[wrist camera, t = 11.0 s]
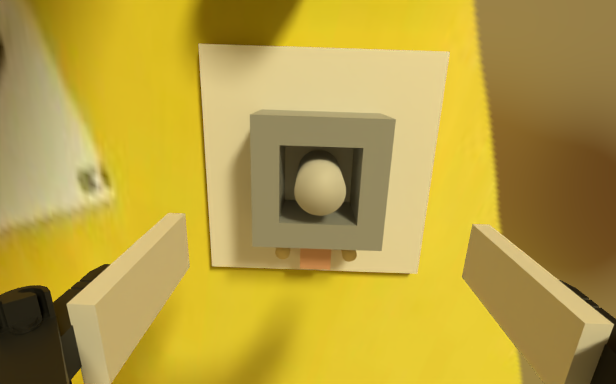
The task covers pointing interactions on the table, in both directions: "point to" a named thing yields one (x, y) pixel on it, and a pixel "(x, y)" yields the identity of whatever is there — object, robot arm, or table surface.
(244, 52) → the post block
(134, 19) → the table surface
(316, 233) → the grey hollow box
